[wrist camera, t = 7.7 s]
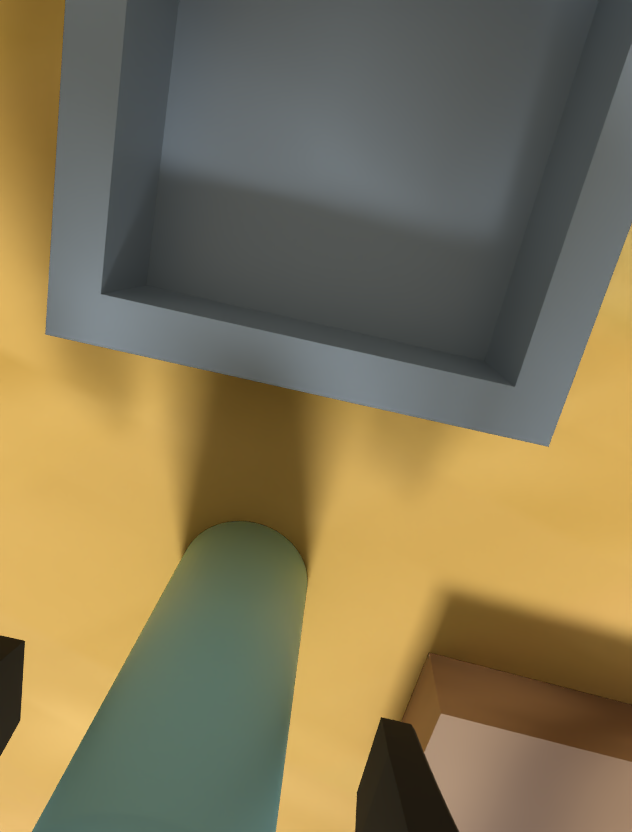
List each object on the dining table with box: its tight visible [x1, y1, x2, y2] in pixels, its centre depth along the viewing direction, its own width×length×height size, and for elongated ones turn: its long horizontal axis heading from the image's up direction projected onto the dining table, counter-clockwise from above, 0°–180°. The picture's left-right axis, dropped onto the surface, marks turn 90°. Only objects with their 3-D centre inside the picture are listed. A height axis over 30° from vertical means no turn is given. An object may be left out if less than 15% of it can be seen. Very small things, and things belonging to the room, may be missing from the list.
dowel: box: [32, 521, 307, 832], centre depth 11 cm, size 4×4×8 cm
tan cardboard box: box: [401, 653, 632, 832], centre depth 16 cm, size 8×6×2 cm
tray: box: [45, 0, 632, 447], centre depth 10 cm, size 10×10×3 cm
